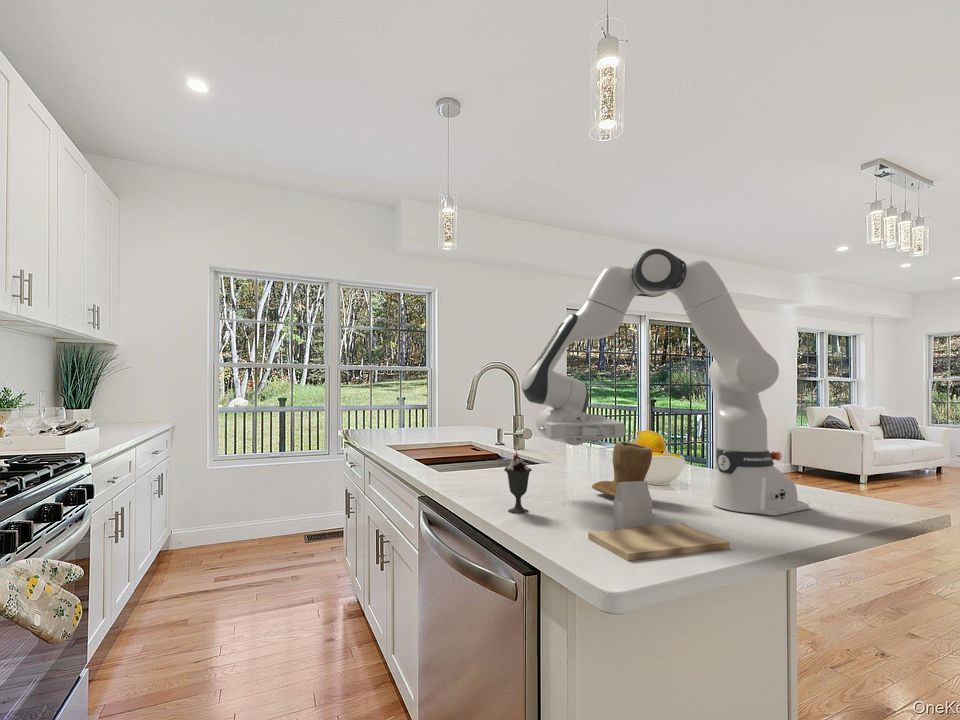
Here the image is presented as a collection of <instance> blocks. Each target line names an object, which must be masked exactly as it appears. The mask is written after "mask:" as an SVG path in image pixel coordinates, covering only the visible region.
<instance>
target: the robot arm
mask: <svg viewBox="0 0 960 720" xmlns="http://www.w3.org/2000/svg"><path fill="white" fill-rule="evenodd" d="M668 292H669V293H672V294H674V295H675V296H676V297H677V298H678V300H679V301H680V303H681V305H682V308H683V310H684V312H685V314H686V315H687V318H688V320H689V322H690V324H691V327H692V328H693V330H694V332H695V335H696V337H697V339H698V340H699V341H700V342H701V343H702V344H703V345H704V346H705V348H706V349H707V350H708V352H709V353H710V355H711V356H712V358H713V361H712V362H711V363H710V365H709V367H708V370H707V371H708V373H707V374H708V378H709V381H710V383H711V389H712V396H713V400H714V405H715V412H716V418H717V419H716V420H717V448H716V451H715V452H716V453H715V454H716V455H715V458H716V459H715V460H716V464H717V472H716V482H715V488H714V494H713V499H712V502H711V504H712V505H713V506H715V507H717V508H719V509H724V510H729V511H733V512H739V513H750V514H761V515H765V516H767V515H768V516H781V515H785V514H790V513H795V512H801V511H804V510H809V509H810V505H809V503H806V502H805V501H801V500H798V499H799V498H798V490H797V486H796V484H795V482H794V481H793V480H791V479H790V478H789V477H788V476H787V475H786V474H784V473H783V472H782V471H780V470H779V469H778V468H777V467H776V466H775V463H774V460H776V461H781V460H782V458H783V456H782V455H783V454H782V453H781V452H780V451H779V452H778V451H772V452H770V451H769V449H768V419H767V416H766V415H765V412H764V410H763V407H762V404H761V399H760V393H762V392H764V391H765V392H766V390H768V389H770V388H771V387H773V385H774V384H775V383H776V381H777V380H778V377H779V374H780V368H779V365H778V362H777V360H776V359H775V357H774V356H772V355H771V354H770V353H768V351H766V349H765V348H764V347H763V346H762V344H761V343H760V342H759V341H758V339H757V338H756V337H755V335H754V333H752V331H751V330H750V329H749V327H748V326H747V324H746V323H745V322H744V320H743V318H742V316H741V315H740V312H739V311H738V308H737V307H736V304H735V302H734V301H733V298H732V297H731V295H730V293H729V291H728V288H727V286H726V285H725V283H724V282H723V280H722V278H721V277H720V275H719V274H718V273H717V271H716V270H715V268H714V267H713V266H712V265H711V263H709V262H707V261H705V260H693V261H690V262H688V263H686V262H685V261H683V260H682V259H681V258H679V257H677V256H676V255H675V254H673V253H671V252H670V251H669V250H666V249H662V248H652V249H648V250H645V251H644V252H643V253H641V254H640V255H639V256H638V257H637V258H636V260H635V263H634V264H633V266H632V267H629V268H625V267H622V266H619V265H612V266H607V267H605V268H604V269H603V270H602V272H601V273H600V274H599V276H598V277H597V278H596V280H595V282H594V284H593V285H592V287H591V289H590V291H589V292H588V295H587V297H586V299H585V302H584V303H583V304H582V306H581V307H580V309H579V310H578V311H576V312H575V313H573V314H568V315H567V316H566V317H565V318H564V319H563V320H562V321H561V323H560V324H559V326H558V327H557V329H556V330H555V331H554V334H553V335H552V337H550V339H549V341H548V343H547V344H546V346H545V347H544V349H543V350H542V352H541V354H540V355H539V356H538V358H537V360H536V361H535V363H534V364H533V365H532V366H531V367H530V369H529V370H528V371H527V372H526V374H525V376H524V377H523V380H522V384H521V389H522V392H523V395H524V397H525V398H526V399H527V400H528V402H530V403H533V404H537V405H544V406H546V408H545V409H543V410H541V411H540V412H539V413H538V414H537V416H536V418H535V427H536V428H537V431H538V432H539V433H540V434H541V435H542V437H545V438H547V439H548V440H551V441H555V442H559V443H562V444H566V445H571V446H579V445H582V444H586V443H589V442H594V441H595V442H596V441H603V440H604V439H620V438H624V437H625V433H626V430H625V429H626V426H625V423H624V422H623V421H621V420H616V419H612V418H607V417H605V416H604V415H601V414H593V413H586V412H587V409H588V406H589V402H590V393H589V390H588V386H587V385H586V383H585V382H584V381H581V380H580V379H577V378H574V377H572V376H567V375H565V374H564V373H563V374H562V373H561V372H560V373H559V372H557V371H555V370H554V368H555V367H556V365H558V362H559V360H560V359H561V358H562V356H563V354H564V353H565V351H566V350H567V348H568V347H569V346H570V345H571V344H572V343H573V342H577V341H579V340H599V339H600V340H601V339H604V338H607V337H610V336H612V335H613V334H615V333H616V332H617V331H618V330H619V328H620V326H621V325H622V322H623V320H624V318H625V316H626V314H627V312H628V308H629V307H630V305H631V303H632V301H633V299H634V298H635V297H636V296H637V297H648V298H656V297H661V296H663V295H665V294H667V293H668Z"/></svg>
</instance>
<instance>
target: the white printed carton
mask: <svg viewBox="0 0 960 720" xmlns="http://www.w3.org/2000/svg"><path fill="white" fill-rule="evenodd" d="M649 490H650V489H649V486H648V481H647V480H644V481H638V482H620V483H618V484H617V490H616V494H615V497H613V530H615V529H616V530H618V529H628V528H638V527H648V526H653V502H652V501H653V500H652V497H651V493H650V491H649Z"/></svg>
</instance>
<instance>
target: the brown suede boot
mask: <svg viewBox="0 0 960 720" xmlns="http://www.w3.org/2000/svg"><path fill="white" fill-rule="evenodd" d="M652 459H653V452H652V448H651V447H649V446H645V445H641V444H640V445H639V444H634V443H631V442H627V441H622V440H621V441H620V440H619V441H617V442H616V443H615V444H614V446H613V450H612V466H613V474H614V477H613V480H612V481H611V480H603V481H602V480H601V481H597V482H595V483H593V484H592V486H591V489H593V490H595V491H598V492H599V493H601V494H604V495H607V496H610V497H613V498H615V494H616V490H617V484H618V483H620V482H638V481H645V479H646V477H647V474H648V471H649V469H650V467H651V463H652Z"/></svg>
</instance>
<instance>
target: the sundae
mask: <svg viewBox="0 0 960 720" xmlns="http://www.w3.org/2000/svg"><path fill="white" fill-rule="evenodd" d="M513 449H514V451H515V454H514V455H513V458H512V459H511V460H510V463H509V466H505V467H504V472H506V473H507V478H508V479H507V480H508V487H509V492H510V493H511V494H512V495H513V497H515V505H514V506H513V507H512V508H509V509H508V511H507V512H508V513H510V512H511V513H510V514H514V513H525V514H527V513H526V512H528V511H529V510H528V509H527V508H524V507H523V505H522V501H521V500H522V497H523V496H524V495H525V494H526V493H527V490H528V485H529V477H530V472H531V471H533V469H532V468H530V467H528V465H526V463H525V461H524V459H523V458H522V457H519V455H518V451H517V449H516V447H514V448H513ZM528 513H529V512H528Z"/></svg>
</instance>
